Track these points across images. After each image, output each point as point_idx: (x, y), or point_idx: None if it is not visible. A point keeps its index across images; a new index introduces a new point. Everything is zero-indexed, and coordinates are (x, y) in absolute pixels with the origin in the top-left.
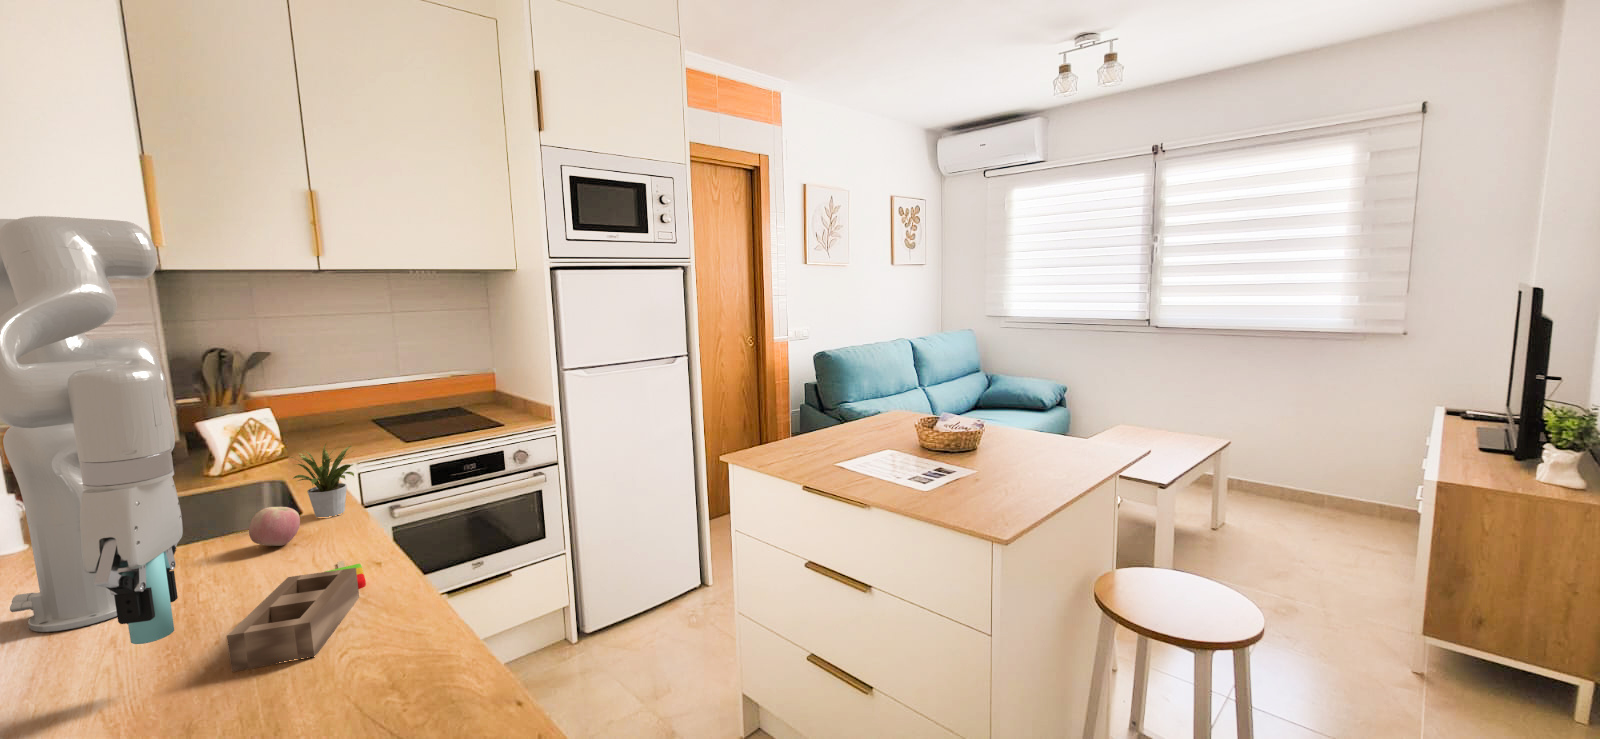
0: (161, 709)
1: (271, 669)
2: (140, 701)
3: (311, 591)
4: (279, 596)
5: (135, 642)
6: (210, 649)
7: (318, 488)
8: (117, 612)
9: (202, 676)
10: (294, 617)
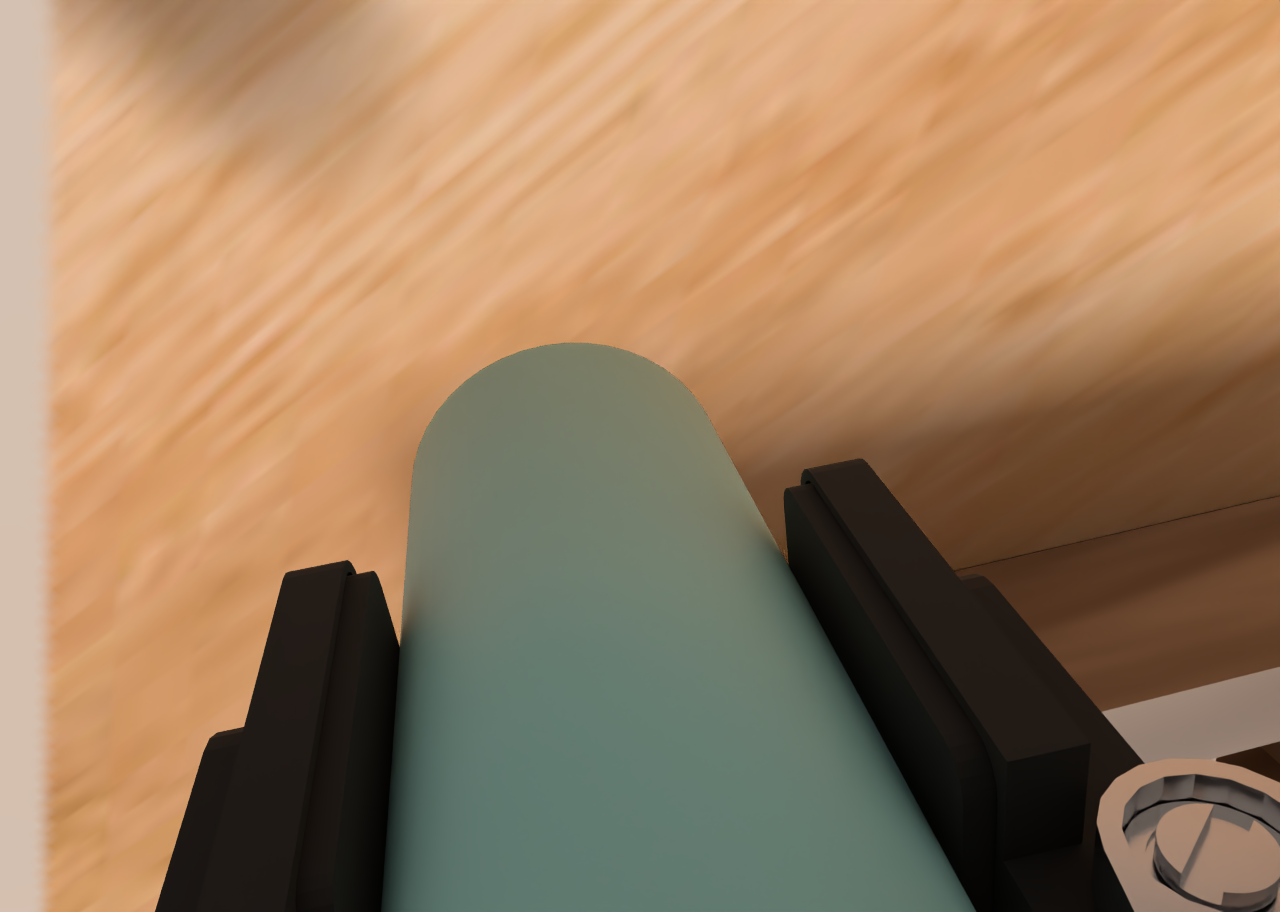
0: (221, 555)
1: None
2: (328, 353)
3: None
4: (1205, 756)
5: (416, 466)
6: (935, 326)
7: None
8: (259, 673)
9: None
10: None
